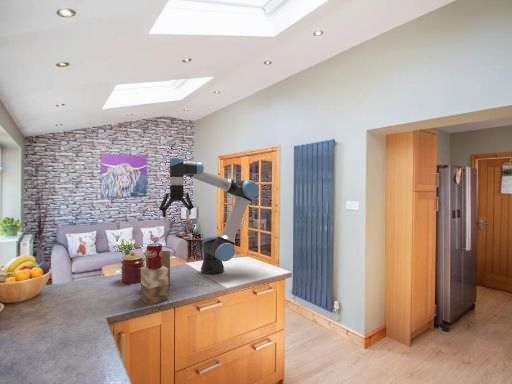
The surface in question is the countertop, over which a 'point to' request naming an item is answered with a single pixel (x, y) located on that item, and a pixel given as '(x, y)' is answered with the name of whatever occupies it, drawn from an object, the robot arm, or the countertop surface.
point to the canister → (132, 268)
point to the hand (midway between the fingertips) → (177, 221)
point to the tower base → (154, 294)
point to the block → (165, 262)
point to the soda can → (154, 256)
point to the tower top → (154, 277)
